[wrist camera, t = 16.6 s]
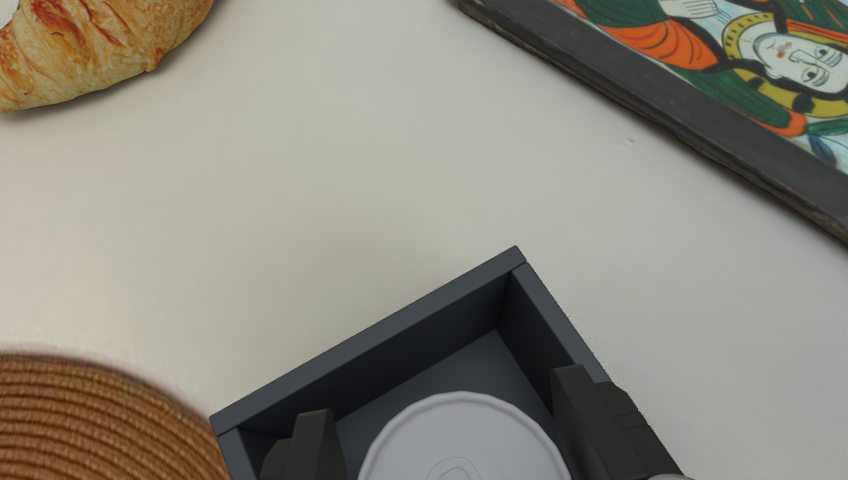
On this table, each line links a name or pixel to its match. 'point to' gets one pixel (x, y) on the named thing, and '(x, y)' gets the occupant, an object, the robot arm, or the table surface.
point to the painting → (714, 80)
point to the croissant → (87, 45)
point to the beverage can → (463, 443)
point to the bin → (420, 366)
